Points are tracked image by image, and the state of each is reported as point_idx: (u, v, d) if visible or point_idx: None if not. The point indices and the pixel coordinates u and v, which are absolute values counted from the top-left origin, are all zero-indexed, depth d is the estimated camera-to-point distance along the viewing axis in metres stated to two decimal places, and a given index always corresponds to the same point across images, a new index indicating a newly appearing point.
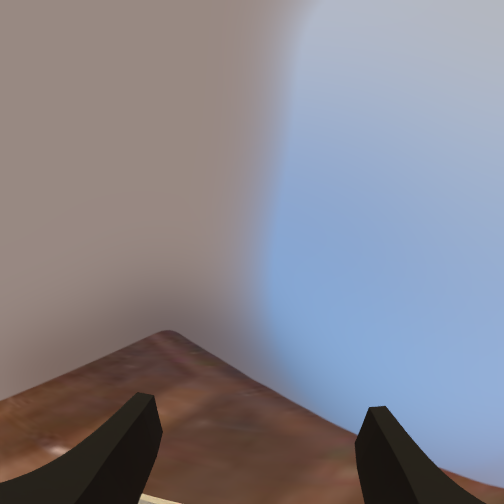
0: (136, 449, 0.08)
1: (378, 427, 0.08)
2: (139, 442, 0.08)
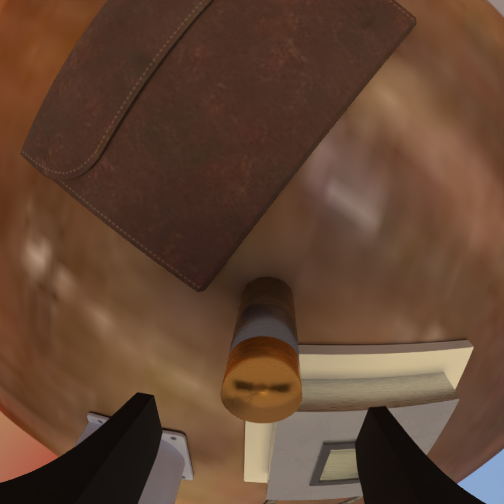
0: (136, 449, 0.08)
1: (378, 427, 0.08)
2: (139, 442, 0.08)
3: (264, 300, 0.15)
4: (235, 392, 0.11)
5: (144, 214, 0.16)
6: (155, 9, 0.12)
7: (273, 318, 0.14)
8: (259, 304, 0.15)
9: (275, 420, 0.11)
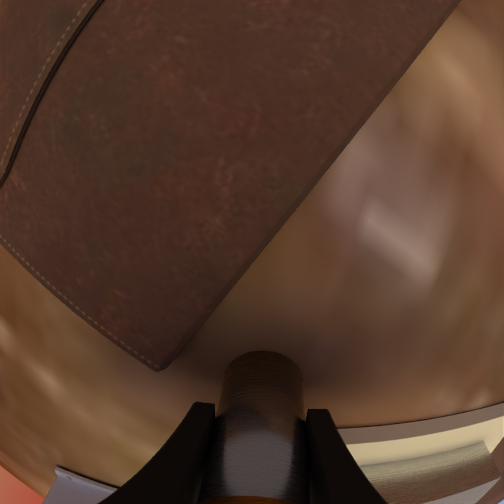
0: (201, 461, 0.07)
1: (311, 431, 0.08)
2: (204, 454, 0.08)
3: (256, 407, 0.08)
4: None
5: (68, 257, 0.09)
6: None
7: (270, 450, 0.07)
8: (248, 416, 0.08)
9: None
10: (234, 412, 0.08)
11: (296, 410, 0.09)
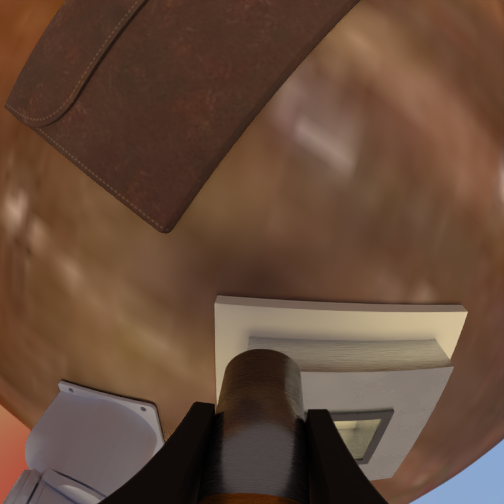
0: (201, 461, 0.07)
1: (311, 430, 0.08)
2: (204, 454, 0.08)
3: (255, 404, 0.08)
4: None
5: (111, 153, 0.15)
6: None
7: (268, 447, 0.07)
8: (246, 413, 0.08)
9: None
10: (233, 410, 0.08)
11: (295, 407, 0.09)
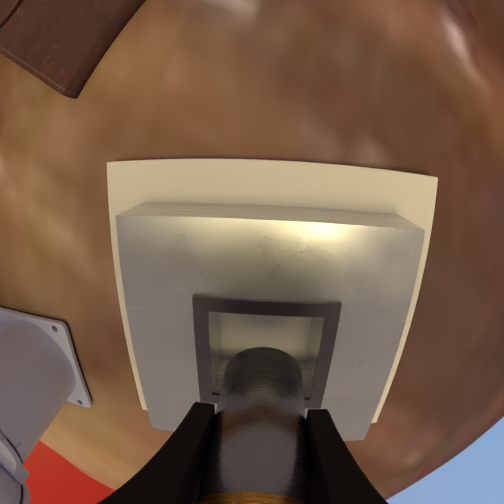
0: (201, 461, 0.07)
1: (311, 430, 0.08)
2: (204, 454, 0.08)
3: (252, 402, 0.08)
4: None
5: (34, 38, 0.11)
6: None
7: (265, 445, 0.07)
8: (244, 411, 0.08)
9: None
10: (231, 409, 0.08)
11: (294, 404, 0.09)
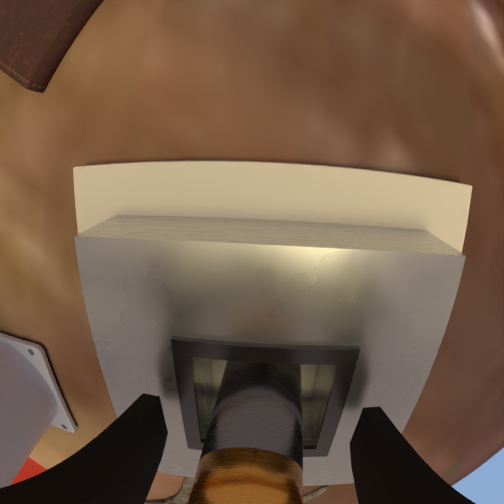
0: (142, 450, 0.08)
1: (372, 428, 0.08)
2: (145, 443, 0.08)
3: (253, 373, 0.10)
4: None
5: (2, 27, 0.09)
6: None
7: (262, 408, 0.08)
8: (245, 380, 0.09)
9: None
10: (233, 379, 0.10)
11: (291, 377, 0.10)
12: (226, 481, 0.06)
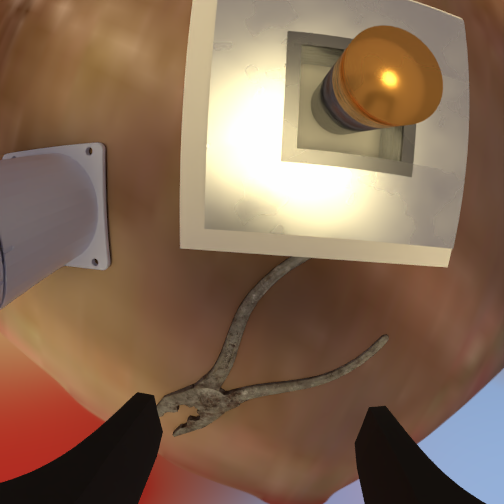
0: (136, 449, 0.08)
1: (378, 427, 0.08)
2: (139, 442, 0.08)
3: None
4: (364, 61, 0.07)
5: None
6: None
7: None
8: None
9: (418, 122, 0.07)
10: None
11: None
12: None
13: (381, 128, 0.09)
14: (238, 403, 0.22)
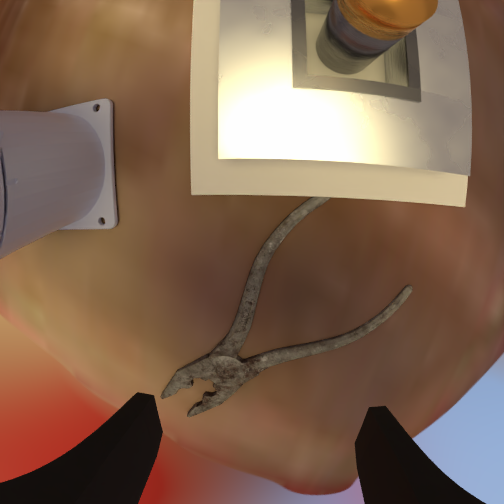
0: (136, 449, 0.08)
1: (378, 427, 0.08)
2: (139, 442, 0.08)
3: None
4: None
5: None
6: None
7: None
8: None
9: (421, 22, 0.06)
10: None
11: None
12: None
13: (387, 41, 0.08)
14: (257, 372, 0.21)
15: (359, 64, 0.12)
